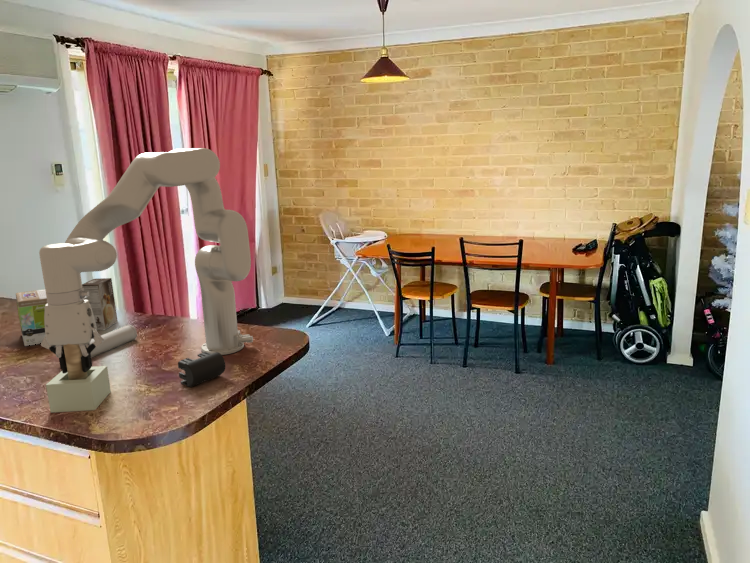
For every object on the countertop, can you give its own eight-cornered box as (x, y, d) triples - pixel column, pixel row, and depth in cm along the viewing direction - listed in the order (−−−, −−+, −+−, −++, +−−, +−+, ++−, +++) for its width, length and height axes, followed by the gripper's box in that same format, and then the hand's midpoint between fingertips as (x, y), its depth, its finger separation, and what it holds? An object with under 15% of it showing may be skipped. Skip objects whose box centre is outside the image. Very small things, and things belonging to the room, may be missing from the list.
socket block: (110, 391, 141) (107, 365, 139) (94, 409, 131) (90, 382, 129) (69, 394, 140) (65, 368, 138) (50, 412, 130) (45, 384, 129)
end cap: (194, 391, 141) (192, 365, 139) (178, 384, 145) (175, 359, 143) (227, 377, 148) (225, 353, 147) (210, 371, 152) (208, 348, 151)
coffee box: (100, 321, 199) (94, 278, 195) (118, 321, 199) (112, 277, 195) (87, 330, 190) (80, 284, 186) (105, 330, 190) (99, 284, 186)
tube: (69, 356, 155) (138, 328, 178) (55, 348, 157) (125, 321, 179) (67, 372, 157) (136, 342, 180) (54, 364, 159) (123, 336, 181)
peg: (90, 379, 136) (83, 332, 134) (84, 385, 133) (76, 338, 130) (74, 379, 136) (66, 333, 133) (66, 386, 132) (58, 338, 129)
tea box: (60, 340, 180) (53, 296, 176) (24, 347, 175) (16, 301, 171) (55, 328, 192) (49, 287, 189) (21, 334, 187) (14, 292, 183)
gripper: (108, 291, 134) (118, 363, 138) (35, 294, 132) (48, 366, 137) (96, 299, 126) (107, 375, 131) (19, 303, 125) (32, 379, 129)
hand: (77, 370), depth 134 cm, fingers closed on peg, 4 cm apart
